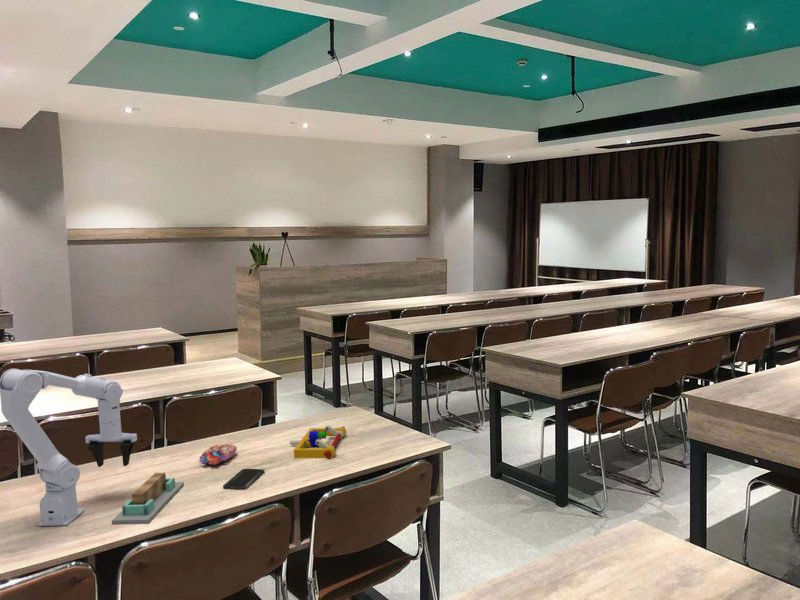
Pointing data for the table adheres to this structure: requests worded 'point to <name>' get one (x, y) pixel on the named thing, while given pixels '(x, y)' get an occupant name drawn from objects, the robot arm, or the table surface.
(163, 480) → the slat
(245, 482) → the phone
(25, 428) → the robot arm
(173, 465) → the table surface
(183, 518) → the table surface
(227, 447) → the anatomical model
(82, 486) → the table surface
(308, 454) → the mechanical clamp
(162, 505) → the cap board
